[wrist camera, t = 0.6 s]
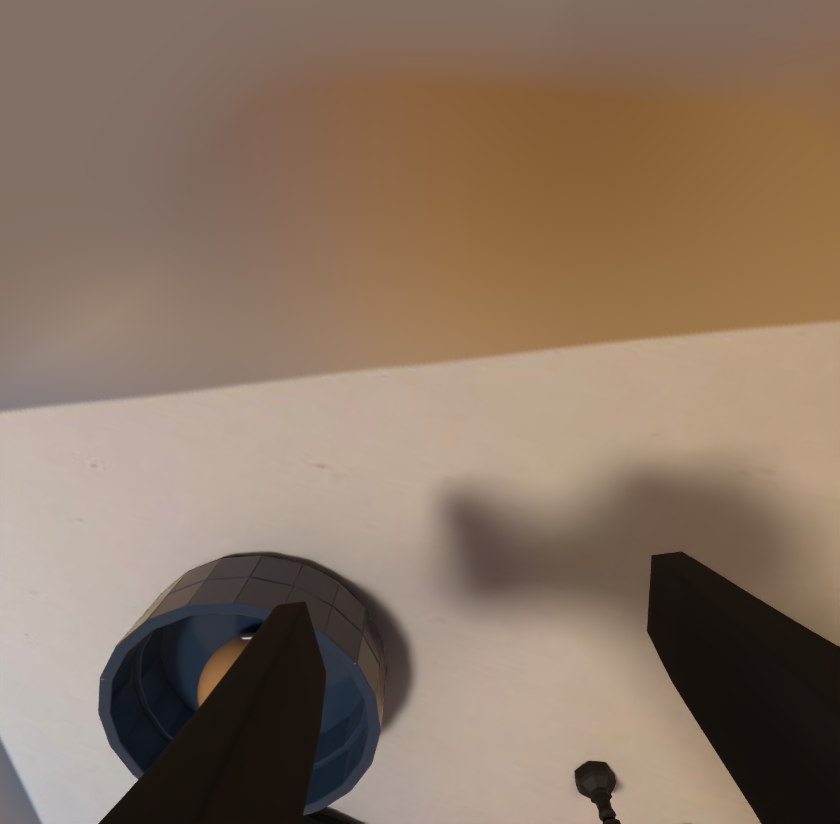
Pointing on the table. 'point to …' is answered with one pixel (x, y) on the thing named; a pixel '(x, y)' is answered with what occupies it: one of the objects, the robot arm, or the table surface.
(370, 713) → the basin
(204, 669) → the egg
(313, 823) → the fountain pen
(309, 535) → the table surface
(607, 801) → the chess pawn
